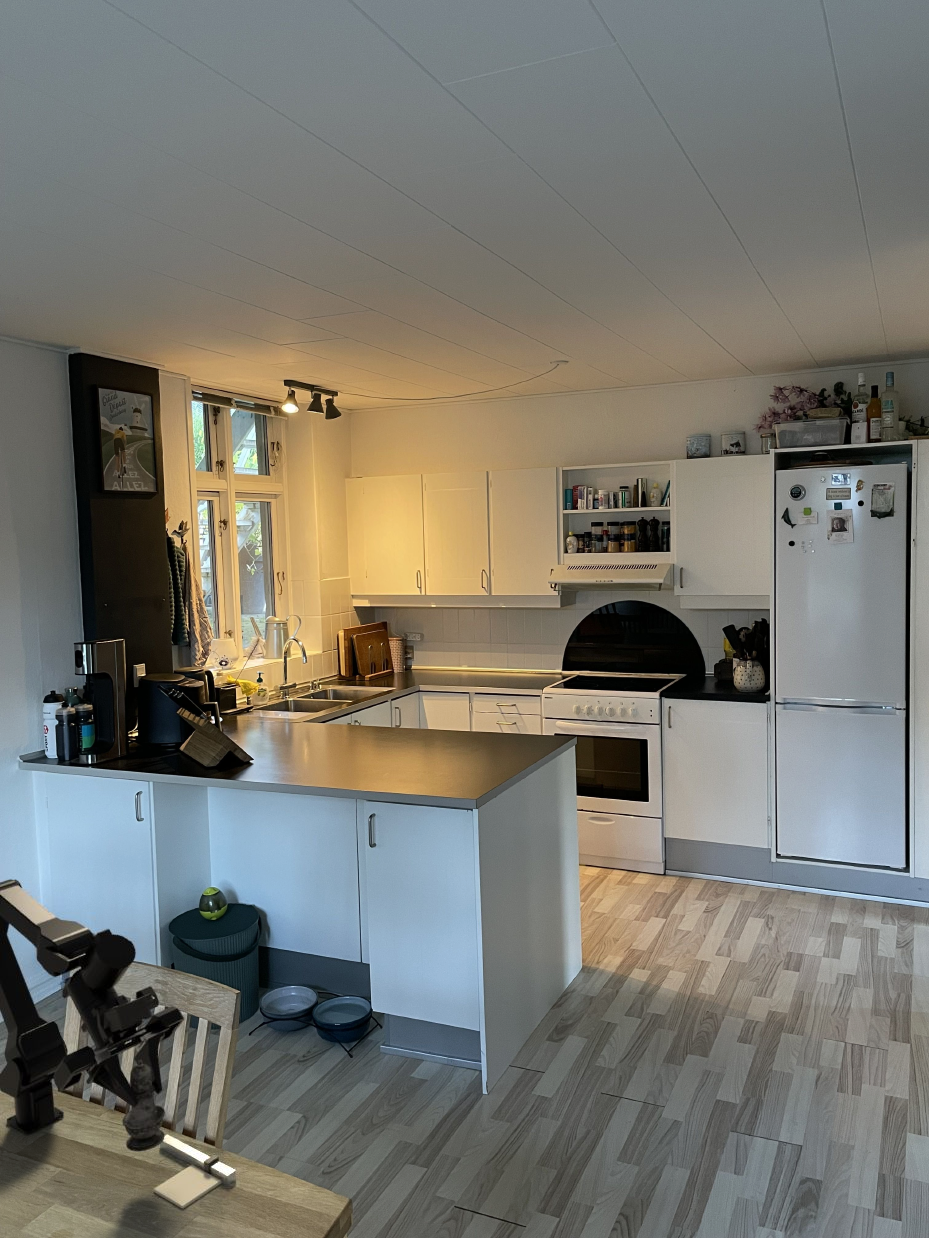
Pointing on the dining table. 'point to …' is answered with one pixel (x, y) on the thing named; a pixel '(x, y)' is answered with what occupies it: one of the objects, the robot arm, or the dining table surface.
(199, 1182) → the groove pad
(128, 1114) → the dark grey tiered figure
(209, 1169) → the white rectangular bar
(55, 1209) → the dining table surface
